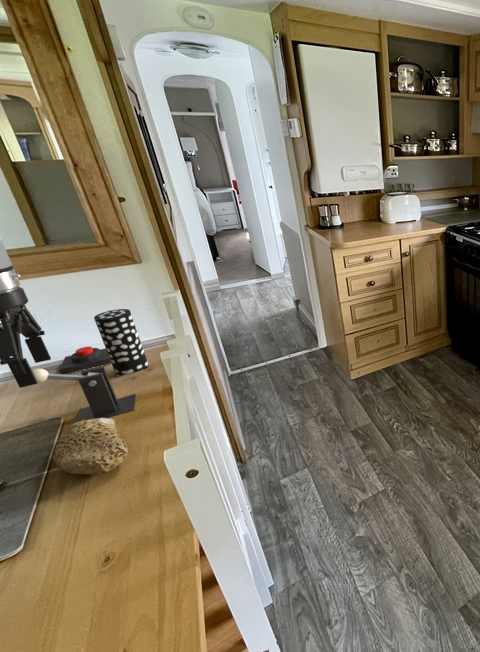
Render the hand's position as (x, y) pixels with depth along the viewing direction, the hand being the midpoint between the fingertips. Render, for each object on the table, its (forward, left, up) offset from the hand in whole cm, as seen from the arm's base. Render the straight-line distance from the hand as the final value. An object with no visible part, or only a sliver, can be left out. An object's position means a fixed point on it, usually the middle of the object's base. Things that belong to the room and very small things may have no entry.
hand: (36, 372), depth 92 cm
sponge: (+9, -20, -16) cm, 27 cm away
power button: (+1, +38, -13) cm, 40 cm away
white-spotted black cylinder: (+13, +24, -16) cm, 32 cm away
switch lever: (+3, 0, -5) cm, 6 cm away
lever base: (+9, 0, -16) cm, 19 cm away
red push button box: (+1, +38, -16) cm, 41 cm away
